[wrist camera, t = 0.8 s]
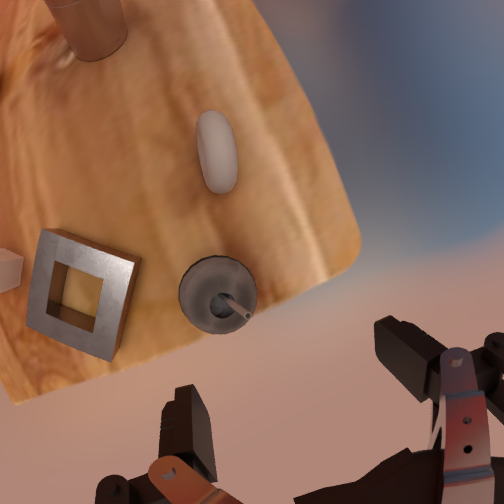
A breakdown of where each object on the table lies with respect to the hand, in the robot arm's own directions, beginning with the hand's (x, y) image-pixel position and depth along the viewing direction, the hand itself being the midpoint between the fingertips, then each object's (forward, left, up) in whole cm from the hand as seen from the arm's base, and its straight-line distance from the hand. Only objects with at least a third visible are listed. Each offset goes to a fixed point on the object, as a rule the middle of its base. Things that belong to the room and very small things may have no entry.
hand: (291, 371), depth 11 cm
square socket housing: (-11, -15, -27) cm, 33 cm away
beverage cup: (-1, -1, -28) cm, 28 cm away
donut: (-12, +9, -28) cm, 31 cm away
